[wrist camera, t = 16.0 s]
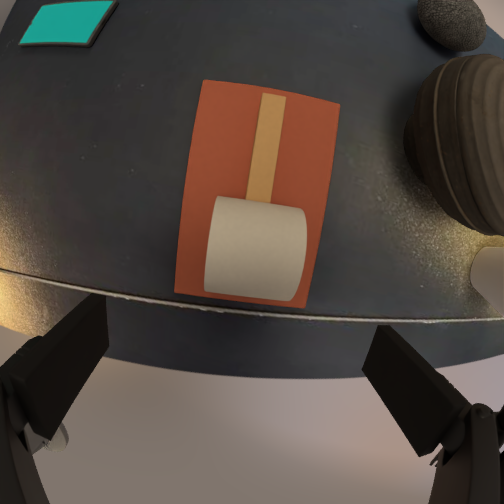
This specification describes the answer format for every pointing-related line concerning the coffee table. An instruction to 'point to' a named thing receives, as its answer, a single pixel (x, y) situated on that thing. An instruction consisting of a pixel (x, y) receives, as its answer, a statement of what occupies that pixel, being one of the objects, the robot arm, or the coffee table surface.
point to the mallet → (257, 225)
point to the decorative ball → (453, 23)
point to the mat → (237, 169)
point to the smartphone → (68, 23)
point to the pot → (462, 140)
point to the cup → (489, 276)
